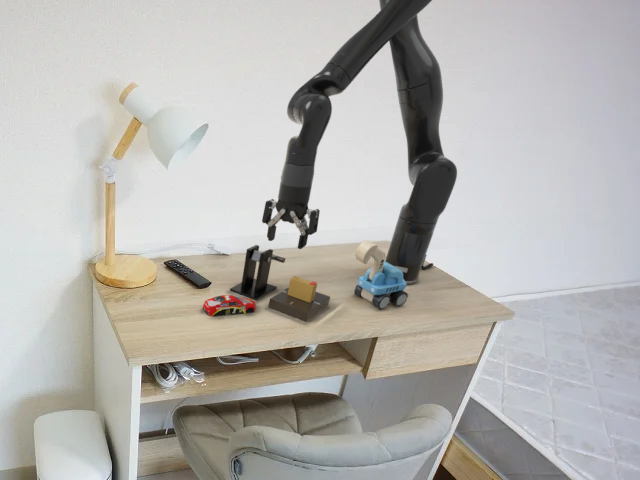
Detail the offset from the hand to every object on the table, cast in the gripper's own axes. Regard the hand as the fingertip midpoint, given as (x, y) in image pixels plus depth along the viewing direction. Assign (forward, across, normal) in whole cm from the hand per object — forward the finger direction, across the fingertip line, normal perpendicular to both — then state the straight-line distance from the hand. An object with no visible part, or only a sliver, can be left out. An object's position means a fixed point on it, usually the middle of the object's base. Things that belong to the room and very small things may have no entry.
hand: (285, 244), depth 134 cm
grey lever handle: (+4, +2, +6) cm, 7 cm away
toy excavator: (+12, -23, -6) cm, 26 cm away
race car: (+11, 0, +24) cm, 27 cm away
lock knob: (+8, -11, +10) cm, 17 cm away
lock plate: (+11, -11, +10) cm, 19 cm away
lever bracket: (+11, +2, +10) cm, 15 cm away
